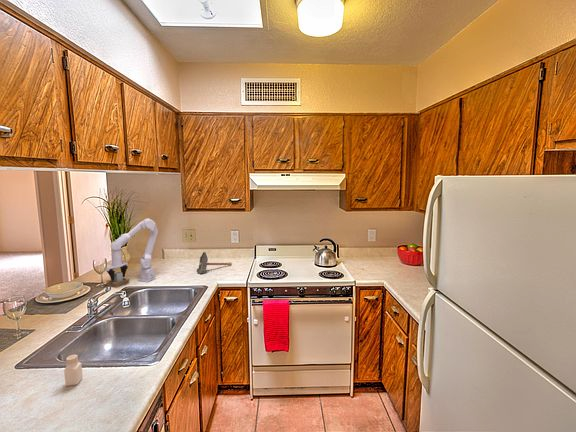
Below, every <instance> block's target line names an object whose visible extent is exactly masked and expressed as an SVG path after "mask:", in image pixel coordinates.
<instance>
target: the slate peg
mask: <svg viewBox="0 0 576 432" xmlns="http://www.w3.org/2000/svg"><path fill="white" fill-rule="evenodd" d="M123 278H124V277H123V274H122V273H121V271H117V272H115V273H114V280H113V281H114V282H116V283H117V282H120V281H123Z"/></svg>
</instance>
